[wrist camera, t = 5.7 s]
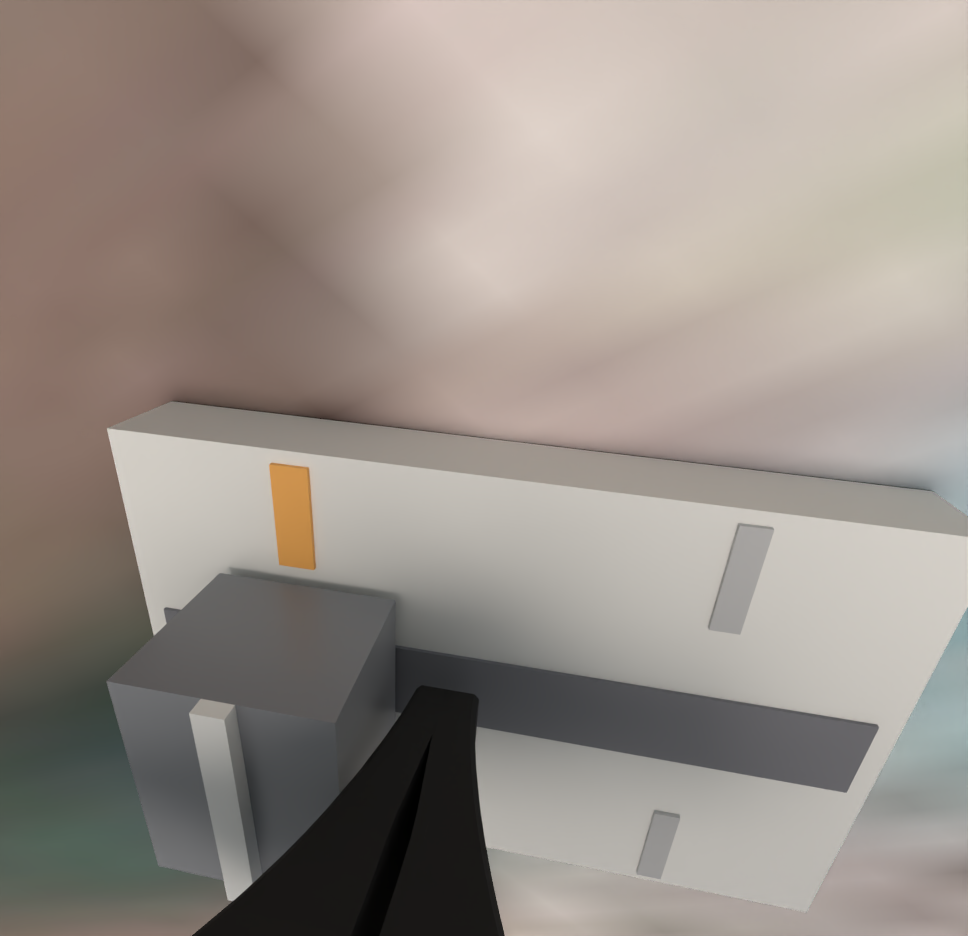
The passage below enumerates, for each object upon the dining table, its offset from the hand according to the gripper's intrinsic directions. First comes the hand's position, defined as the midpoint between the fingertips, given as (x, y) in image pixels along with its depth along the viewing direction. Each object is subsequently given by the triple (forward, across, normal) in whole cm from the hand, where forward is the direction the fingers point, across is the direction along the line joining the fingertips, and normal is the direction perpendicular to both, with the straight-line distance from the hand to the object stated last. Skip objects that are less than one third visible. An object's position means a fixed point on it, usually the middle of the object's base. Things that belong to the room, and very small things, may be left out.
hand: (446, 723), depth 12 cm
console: (+3, -1, 0) cm, 3 cm away
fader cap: (+1, +3, 0) cm, 3 cm away
